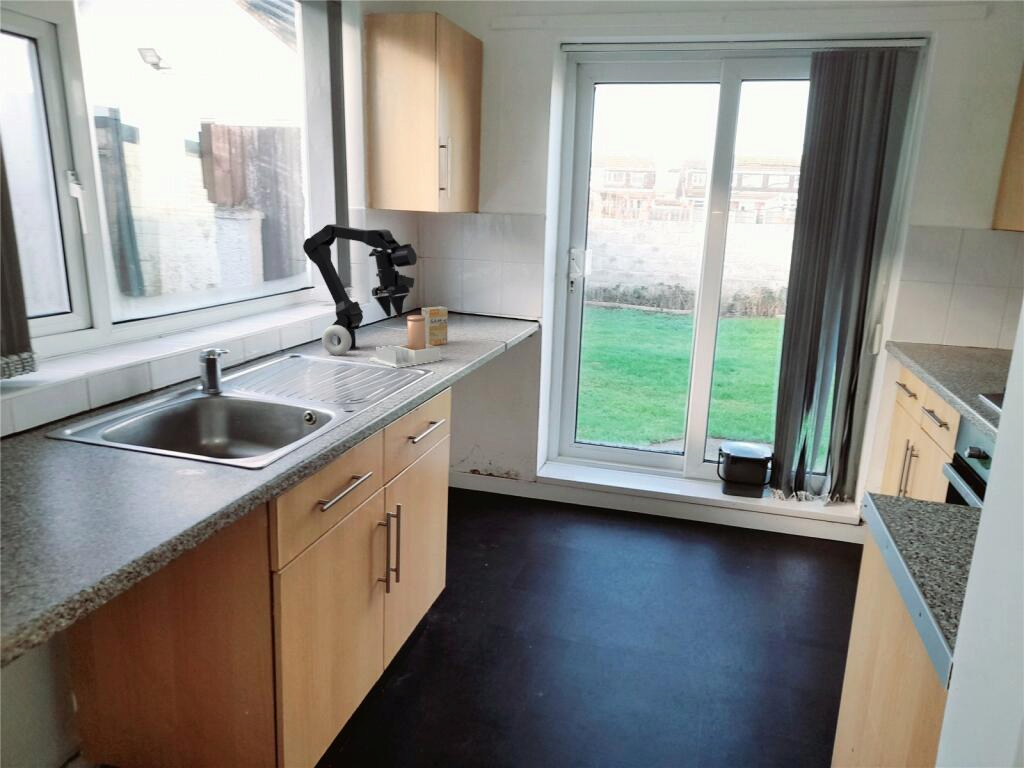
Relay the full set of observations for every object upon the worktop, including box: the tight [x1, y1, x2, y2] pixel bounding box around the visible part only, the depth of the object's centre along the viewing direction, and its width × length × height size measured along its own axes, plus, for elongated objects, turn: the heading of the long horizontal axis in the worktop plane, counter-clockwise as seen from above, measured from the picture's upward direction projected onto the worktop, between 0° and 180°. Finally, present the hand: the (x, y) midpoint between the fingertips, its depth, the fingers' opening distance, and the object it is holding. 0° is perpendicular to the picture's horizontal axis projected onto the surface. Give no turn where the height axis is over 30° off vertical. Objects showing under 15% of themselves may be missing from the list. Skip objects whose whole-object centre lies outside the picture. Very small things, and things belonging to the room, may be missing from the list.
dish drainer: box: [369, 343, 443, 367], centre depth 226 cm, size 14×18×5 cm
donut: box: [321, 324, 352, 356], centre depth 232 cm, size 10×4×10 cm, turn 80°
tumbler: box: [406, 314, 426, 351], centre depth 226 cm, size 6×6×13 cm
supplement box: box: [421, 306, 449, 346], centre depth 252 cm, size 8×5×13 cm, turn 131°
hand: (394, 316), depth 234 cm, fingers open, 9 cm apart
